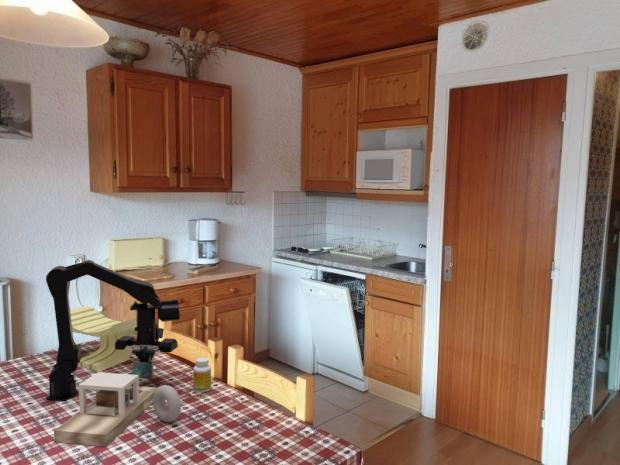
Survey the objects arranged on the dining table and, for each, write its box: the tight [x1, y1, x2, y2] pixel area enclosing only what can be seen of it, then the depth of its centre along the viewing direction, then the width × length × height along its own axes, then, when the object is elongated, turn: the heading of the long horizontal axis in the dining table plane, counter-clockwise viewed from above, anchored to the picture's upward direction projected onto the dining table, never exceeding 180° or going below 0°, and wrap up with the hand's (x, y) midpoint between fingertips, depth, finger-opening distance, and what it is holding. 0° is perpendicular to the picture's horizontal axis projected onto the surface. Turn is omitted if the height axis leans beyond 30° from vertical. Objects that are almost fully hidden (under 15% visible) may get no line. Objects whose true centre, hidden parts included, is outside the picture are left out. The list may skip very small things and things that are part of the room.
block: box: [95, 390, 118, 408], centre depth 136 cm, size 5×5×5 cm
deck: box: [53, 385, 158, 448], centre depth 136 cm, size 14×29×3 cm, turn 172°
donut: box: [152, 384, 182, 423], centre depth 134 cm, size 10×4×10 cm, turn 55°
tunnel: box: [78, 371, 140, 417], centre depth 135 cm, size 12×9×8 cm
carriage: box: [86, 360, 154, 416], centre depth 143 cm, size 8×25×6 cm, turn 172°
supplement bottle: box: [193, 357, 212, 393], centre depth 156 cm, size 5×5×10 cm
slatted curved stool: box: [70, 305, 137, 372], centre depth 179 cm, size 30×16×18 cm, turn 63°
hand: (146, 370), depth 157 cm, fingers closed, pressing on carriage
